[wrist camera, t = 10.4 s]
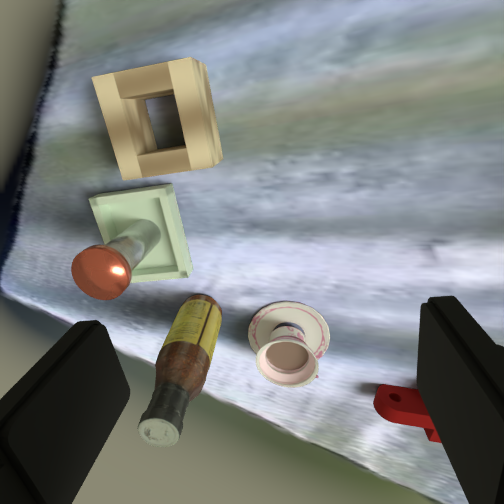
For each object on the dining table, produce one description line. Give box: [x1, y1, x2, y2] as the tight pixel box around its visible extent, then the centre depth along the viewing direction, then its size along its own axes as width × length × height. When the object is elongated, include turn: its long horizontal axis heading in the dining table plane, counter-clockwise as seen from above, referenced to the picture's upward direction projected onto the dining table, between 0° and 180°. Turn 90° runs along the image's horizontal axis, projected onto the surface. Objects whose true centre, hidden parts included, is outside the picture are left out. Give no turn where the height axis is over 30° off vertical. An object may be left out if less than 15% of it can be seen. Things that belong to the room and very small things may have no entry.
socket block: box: [92, 57, 223, 180], centre depth 35 cm, size 10×10×6 cm
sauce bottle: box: [138, 295, 222, 447], centre depth 39 cm, size 7×6×20 cm
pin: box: [71, 219, 161, 300], centre depth 38 cm, size 6×6×12 cm
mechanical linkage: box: [373, 384, 442, 443], centre depth 49 cm, size 16×7×5 cm, turn 84°
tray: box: [89, 184, 193, 283], centre depth 43 cm, size 12×10×3 cm
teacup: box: [248, 301, 330, 387], centre depth 46 cm, size 12×12×6 cm
